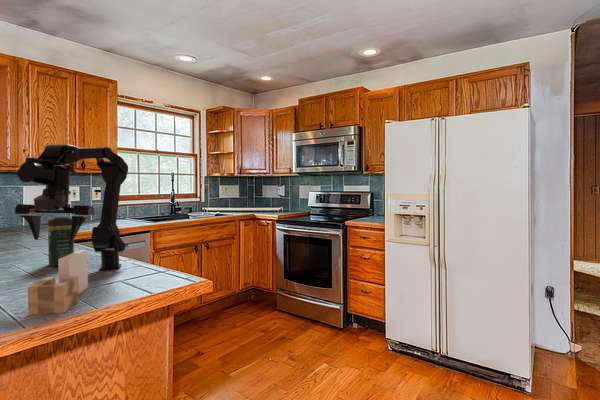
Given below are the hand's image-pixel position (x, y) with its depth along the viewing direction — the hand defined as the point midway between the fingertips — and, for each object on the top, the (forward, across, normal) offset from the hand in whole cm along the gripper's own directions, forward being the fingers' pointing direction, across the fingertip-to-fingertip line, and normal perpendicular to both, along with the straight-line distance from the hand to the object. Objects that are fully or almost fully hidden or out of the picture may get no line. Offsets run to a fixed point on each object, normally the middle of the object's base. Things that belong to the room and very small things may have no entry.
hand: (54, 239), depth 101 cm
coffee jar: (+11, -11, +35) cm, 38 cm away
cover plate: (+15, +8, -6) cm, 18 cm away
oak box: (+16, +8, -17) cm, 25 cm away
